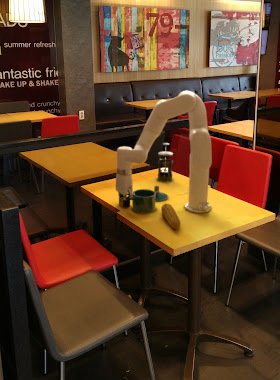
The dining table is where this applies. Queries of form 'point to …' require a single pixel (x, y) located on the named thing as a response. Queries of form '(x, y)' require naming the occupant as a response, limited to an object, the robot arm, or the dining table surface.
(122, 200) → the block
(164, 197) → the lid
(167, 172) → the french press
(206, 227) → the dining table surface
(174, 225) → the food
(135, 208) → the pot
